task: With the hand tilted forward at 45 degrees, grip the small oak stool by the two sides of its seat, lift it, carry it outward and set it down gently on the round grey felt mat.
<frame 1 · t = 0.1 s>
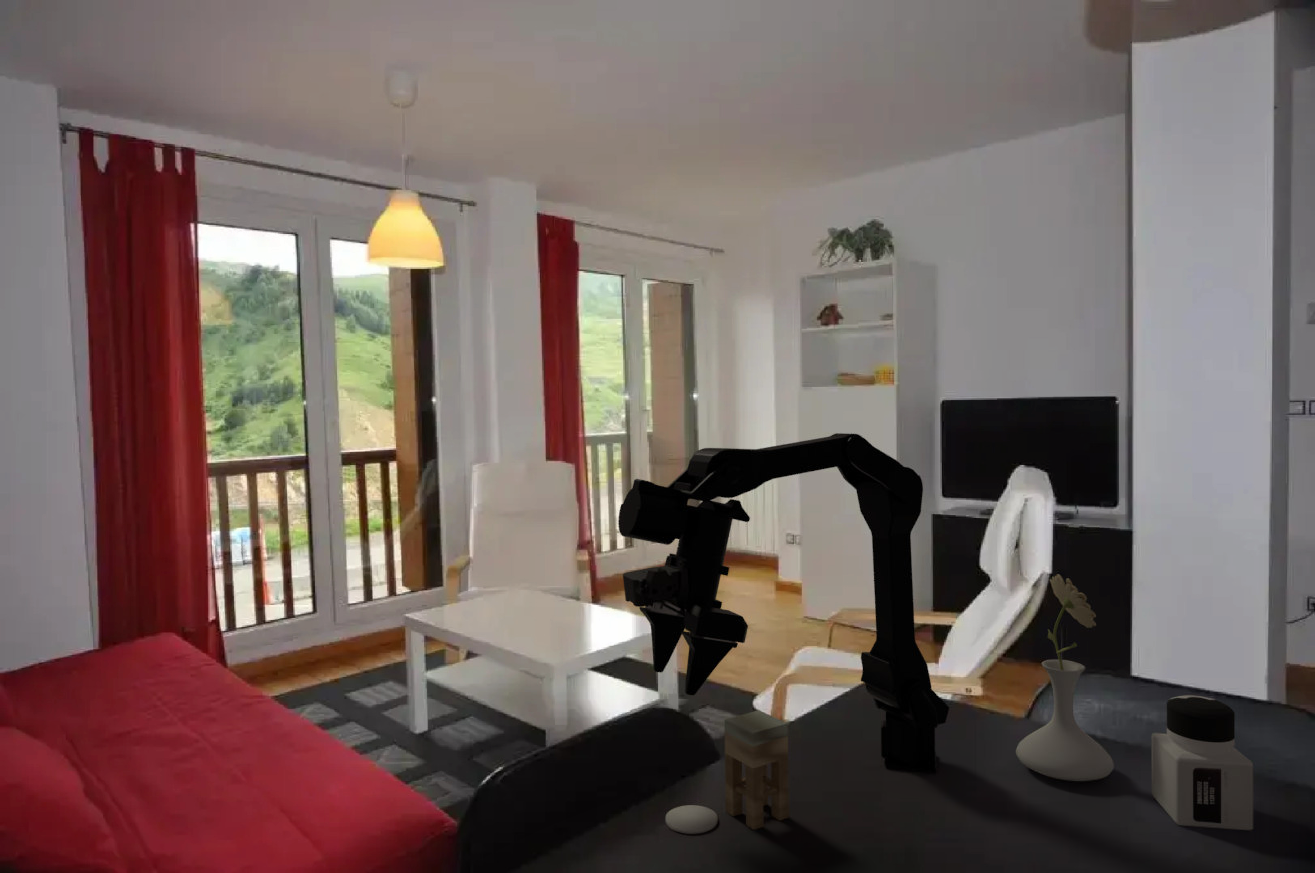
hand: (673, 682, 97), 15 cm above the table, tool pointing down, fingers open, 9 cm apart
container: (1200, 814, 96), on the table
flower in vase: (1063, 769, 108), on the table
mat: (691, 820, 96), on the table
stool: (757, 814, 97), on the table
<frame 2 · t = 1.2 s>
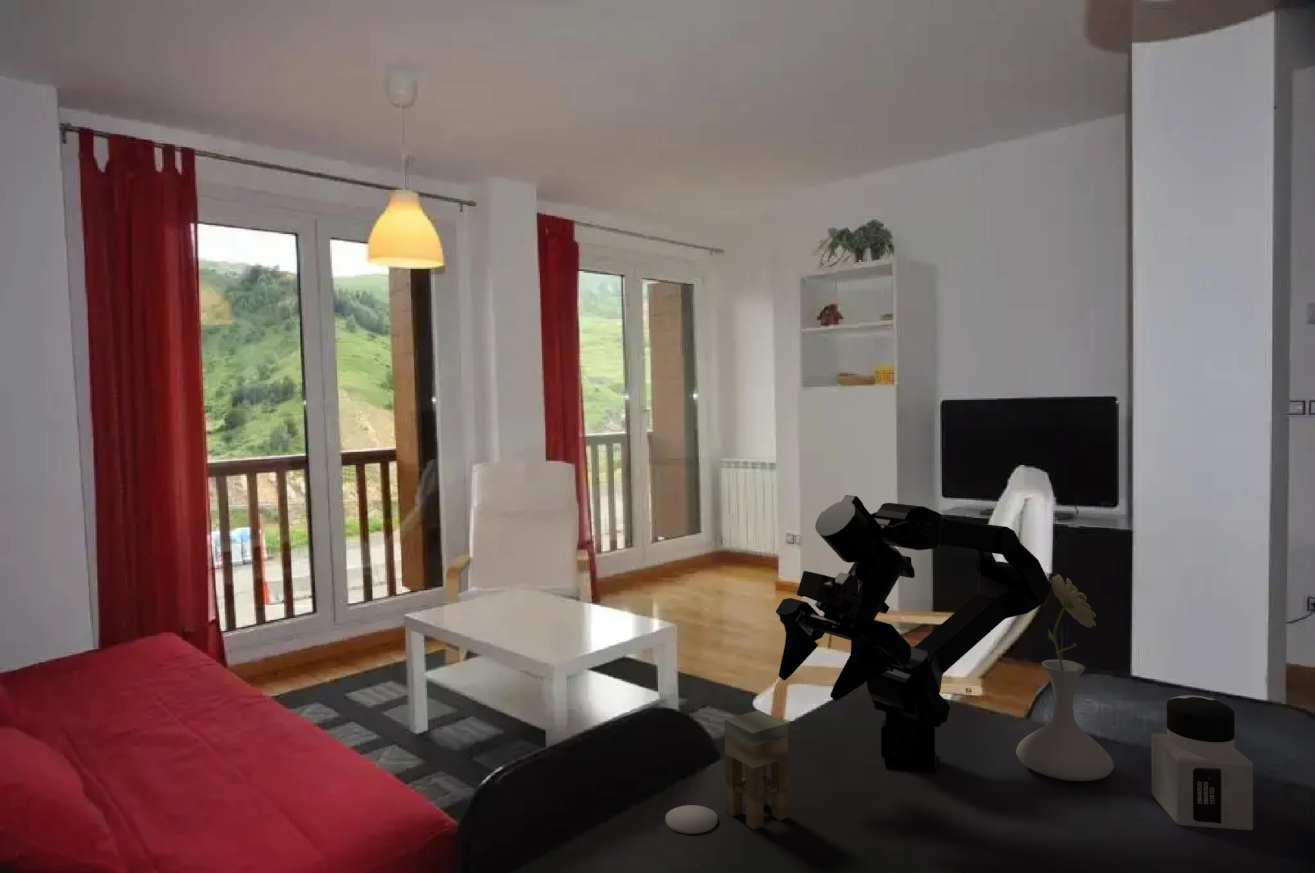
hand: (806, 688, 101), 13 cm above the table, tool tilted 45°, fingers open, 9 cm apart
nothing on the table moved.
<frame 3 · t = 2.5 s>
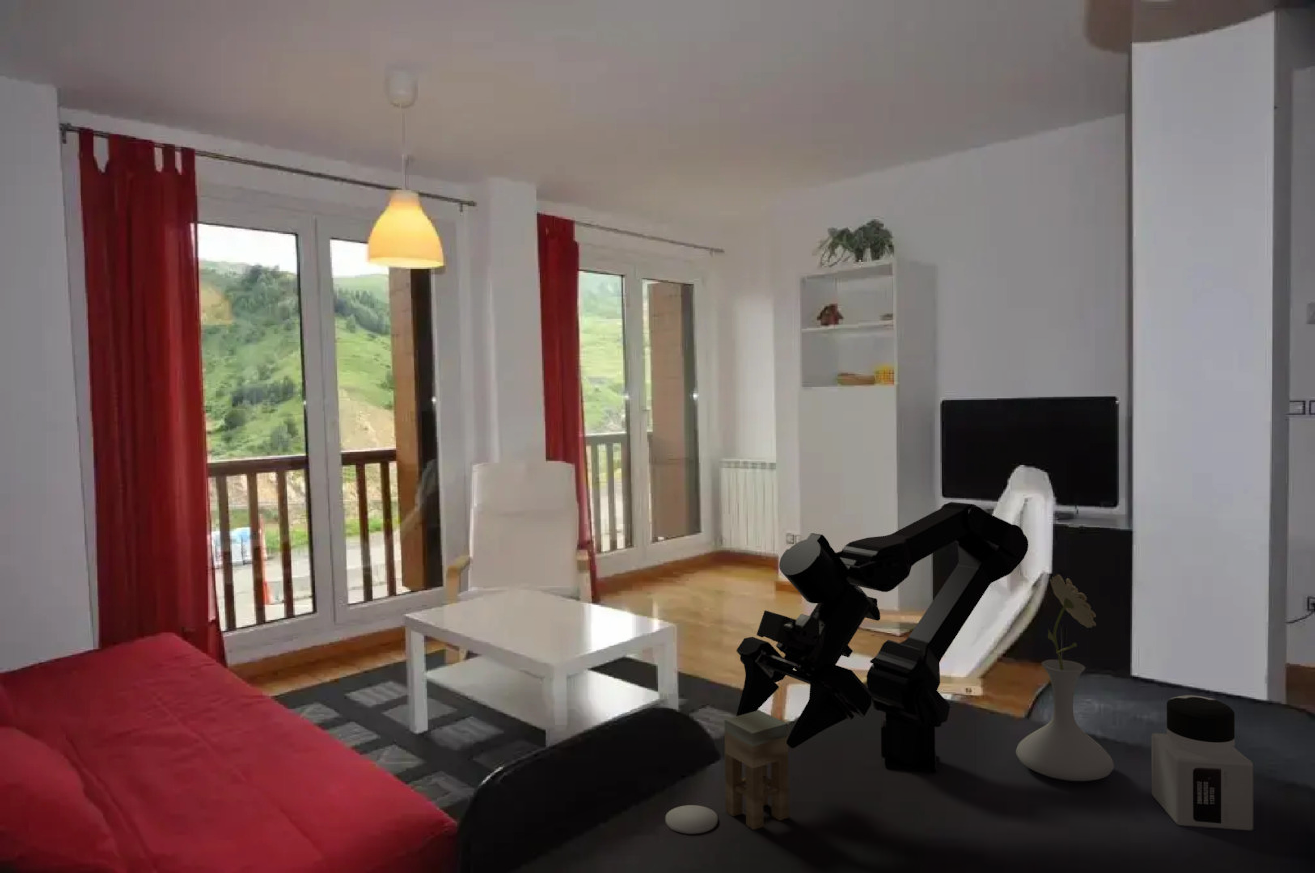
hand: (762, 733, 97), 9 cm above the table, tool tilted 45°, fingers open, 9 cm apart
nothing on the table moved.
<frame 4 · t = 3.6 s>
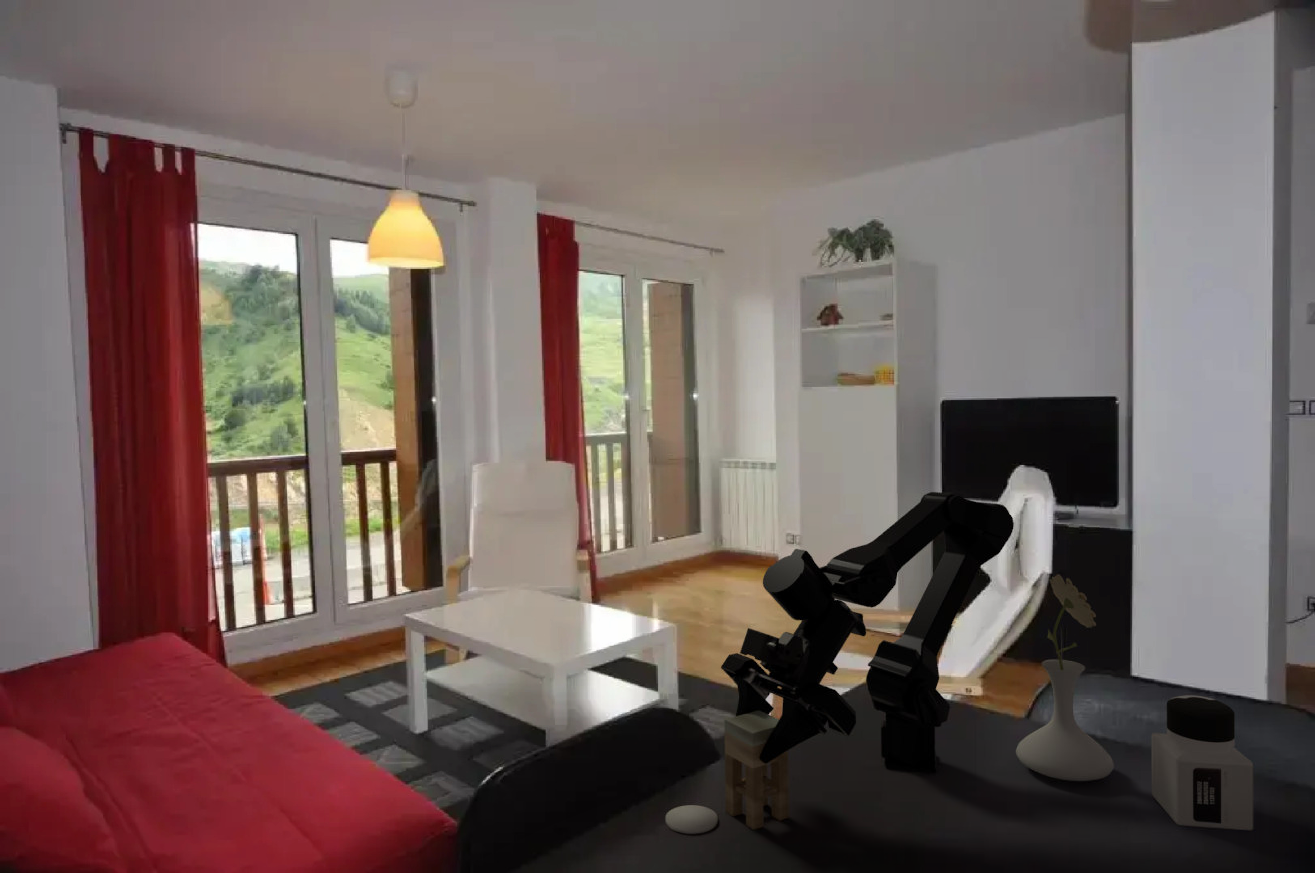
hand: (746, 752, 96), 8 cm above the table, tool tilted 45°, fingers closed on stool, 5 cm apart
stool: (757, 814, 97), on the table, touching gripper
everything else where it was.
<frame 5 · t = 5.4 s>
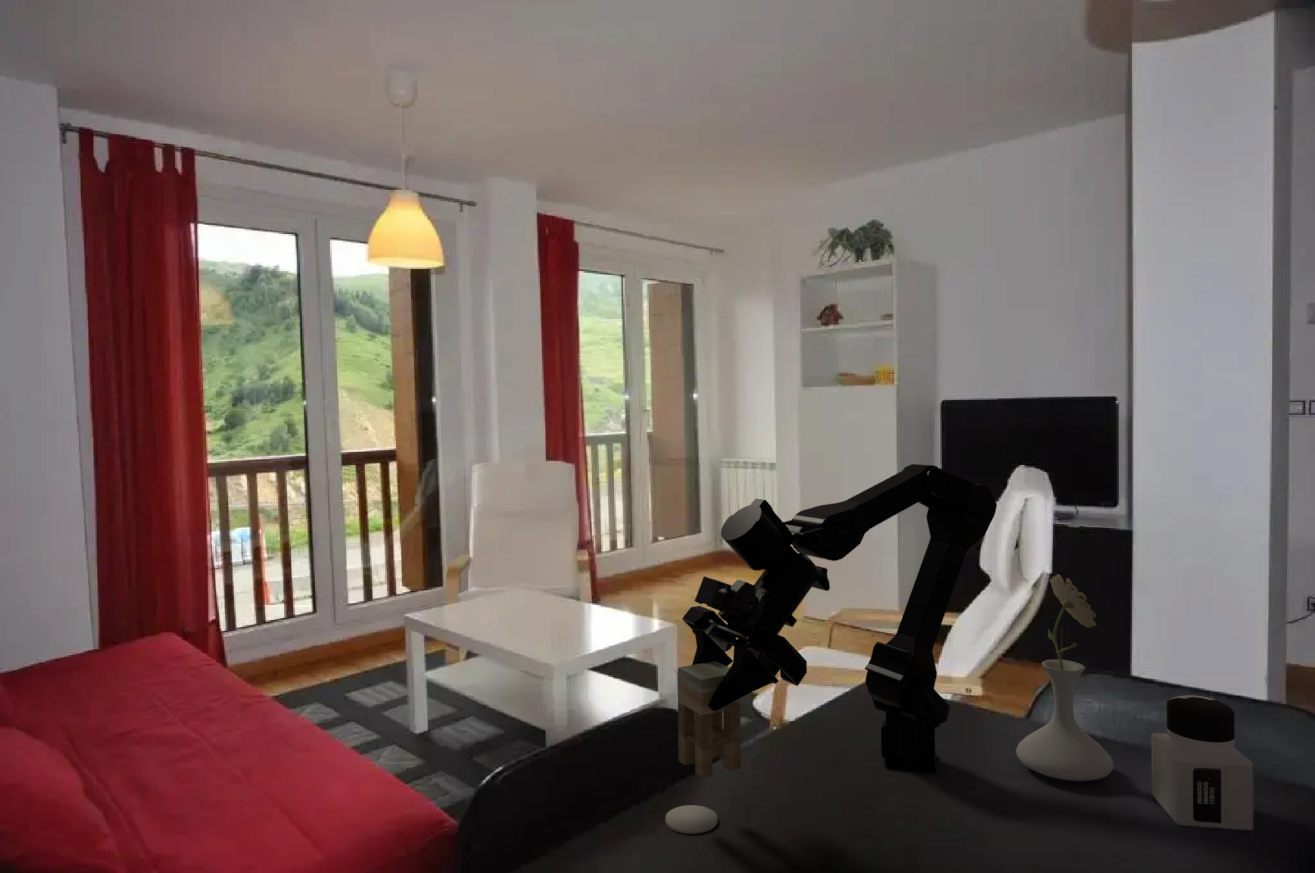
hand: (698, 701, 95), 14 cm above the table, tool tilted 45°, fingers closed on stool, 5 cm apart
stool: (709, 764, 96), point 6 cm above the table, touching gripper
everything else where it was.
when the fingers open (9 cm above the table, at t = 7.1 s): stool stays where it is, resting on mat.
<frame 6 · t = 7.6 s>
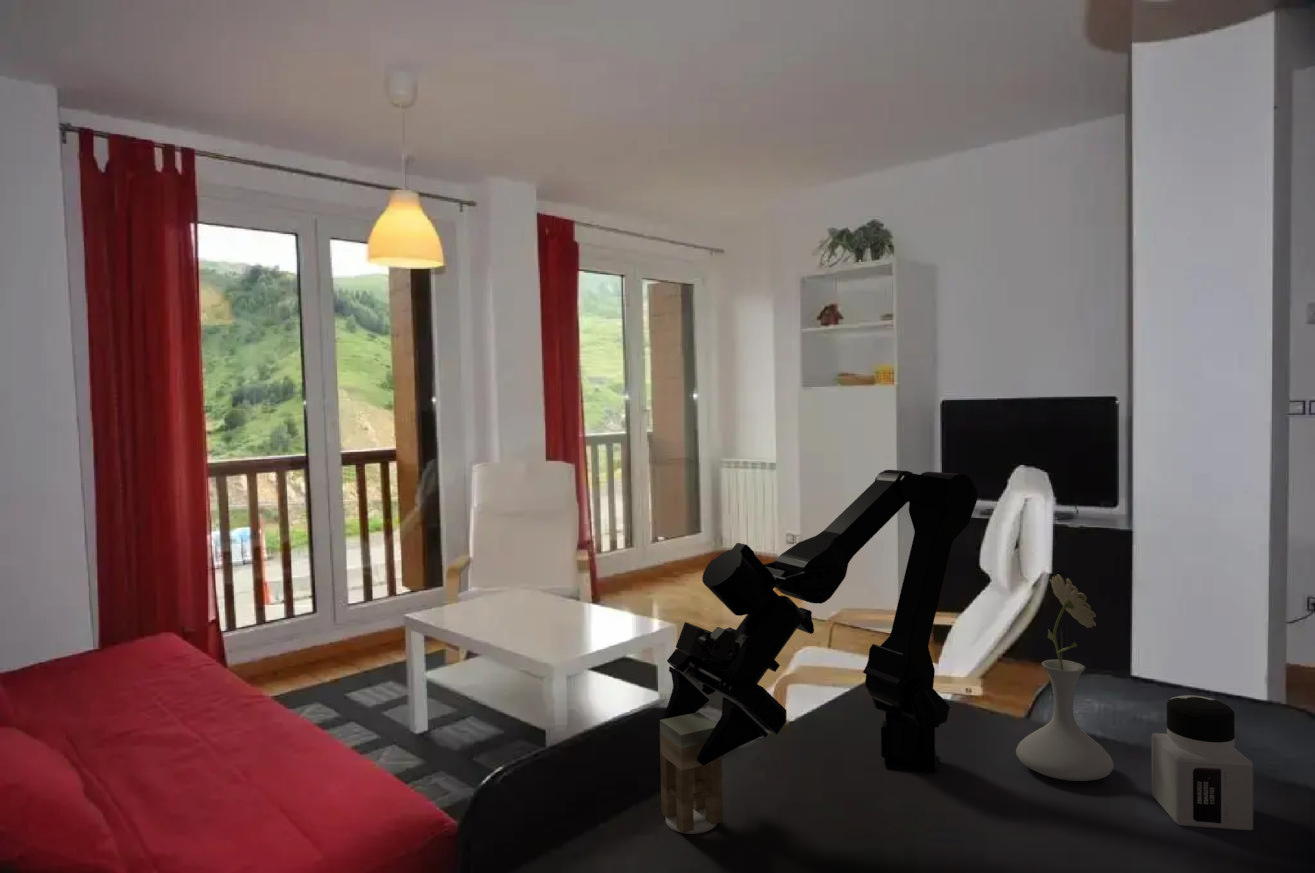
hand: (679, 748, 95), 9 cm above the table, tool tilted 45°, fingers open, 9 cm apart
stool: (691, 817, 96), resting on mat
everything else where it was.
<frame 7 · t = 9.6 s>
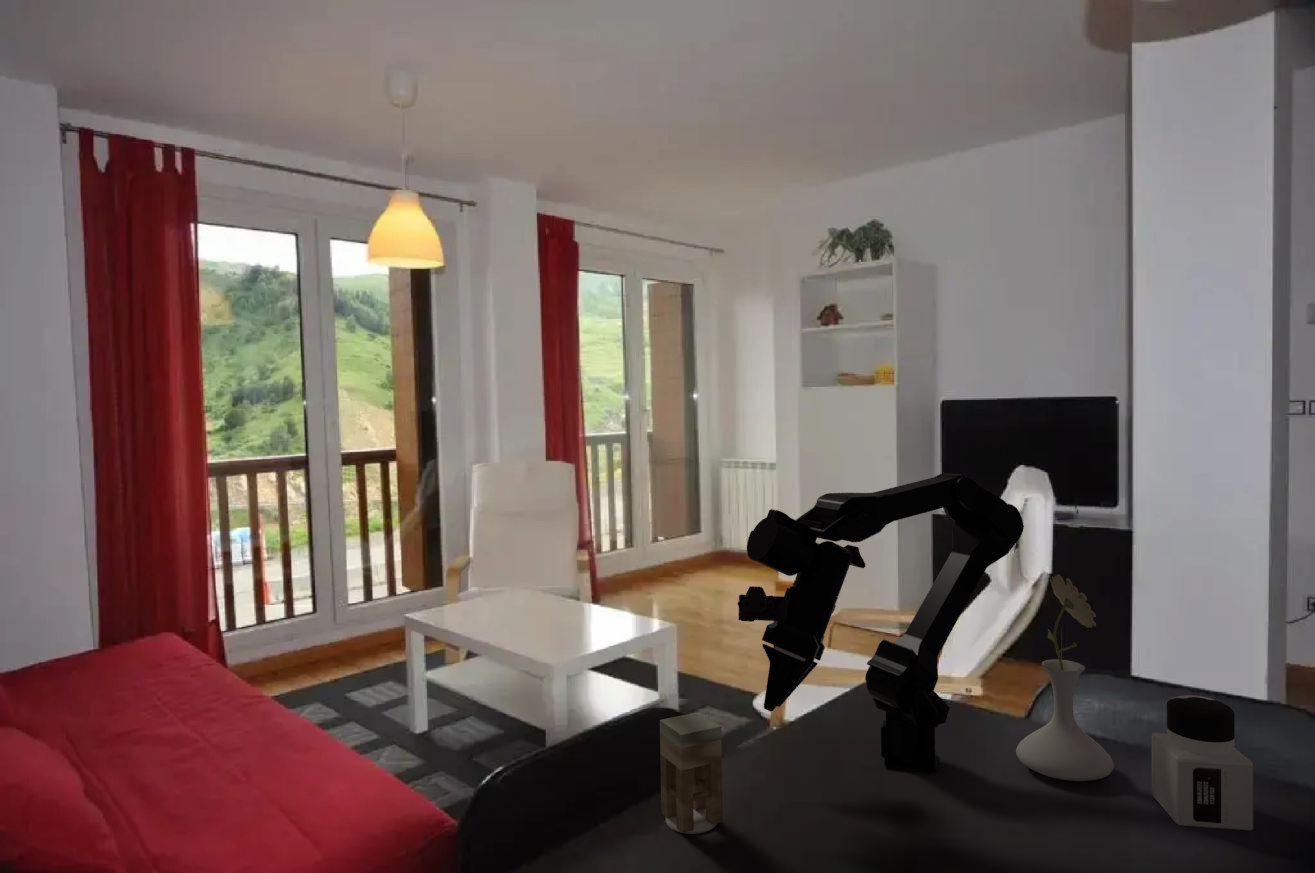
hand: (771, 707, 102), 11 cm above the table, tool tilted 25°, fingers open, 9 cm apart
nothing on the table moved.
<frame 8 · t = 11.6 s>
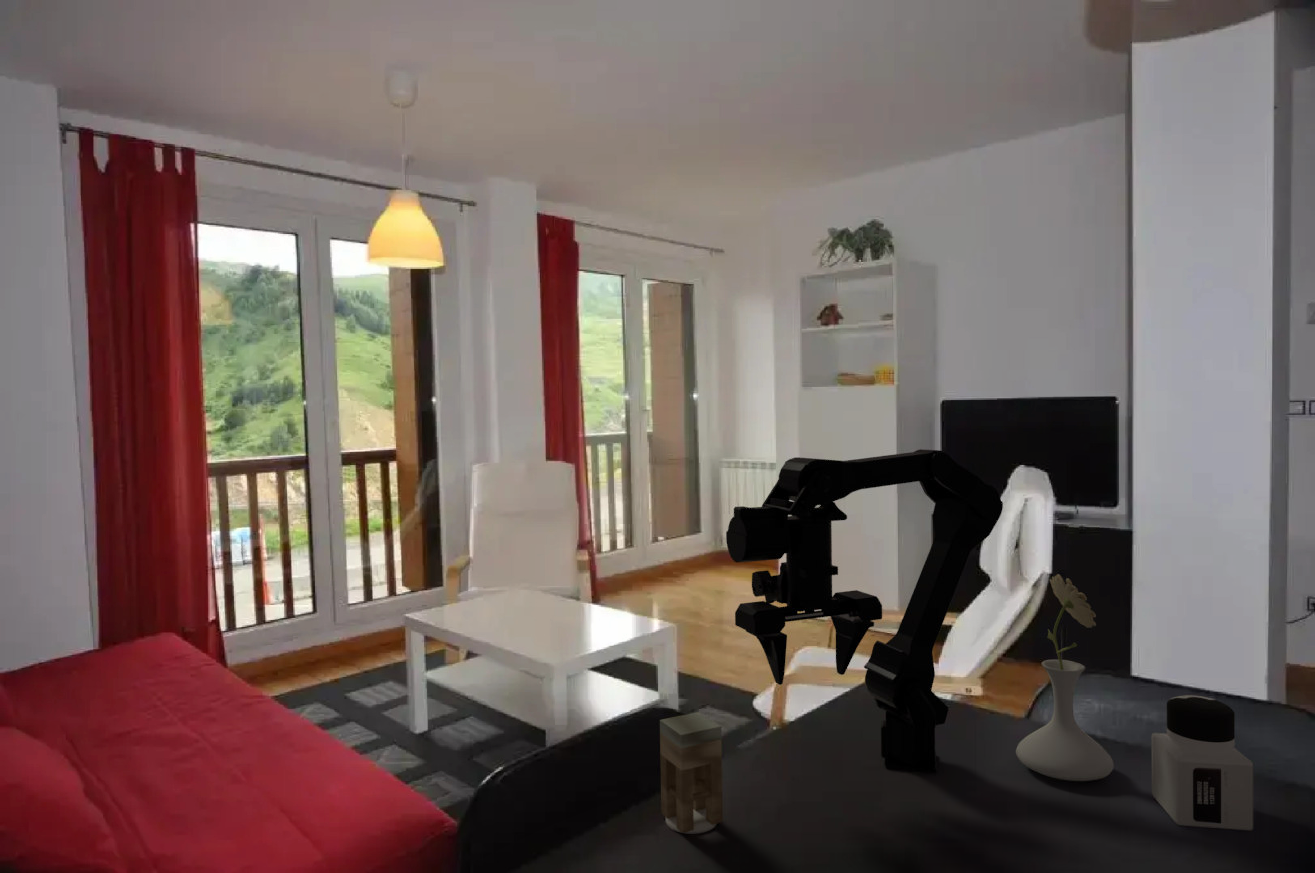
hand: (810, 678, 106), 13 cm above the table, tool pointing down, fingers open, 9 cm apart
nothing on the table moved.
at the end: stool 0.0 cm from the mat (horizontally); stool tilted 0°; the gripper is holding nothing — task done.
